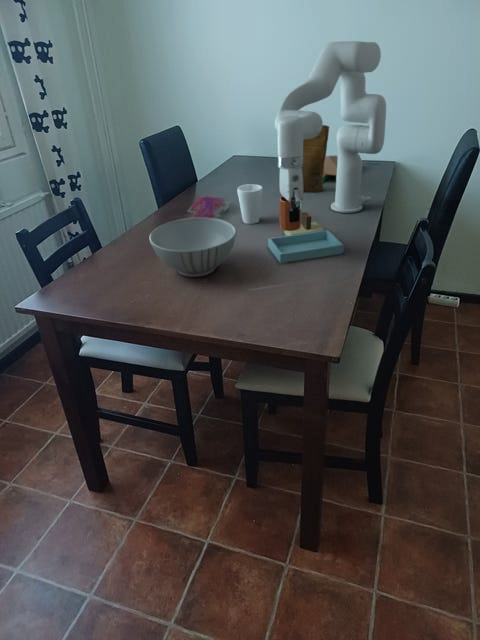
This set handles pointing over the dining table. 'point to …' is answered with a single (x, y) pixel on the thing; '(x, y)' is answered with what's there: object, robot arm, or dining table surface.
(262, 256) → the dining table surface
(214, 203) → the pink plastic packet
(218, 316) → the dining table surface
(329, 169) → the house
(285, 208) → the cup
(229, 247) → the decorative bowl
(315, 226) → the switch panel
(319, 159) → the pancake mix bag
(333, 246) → the blue tray
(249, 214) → the foam cup
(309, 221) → the brown switch lever
